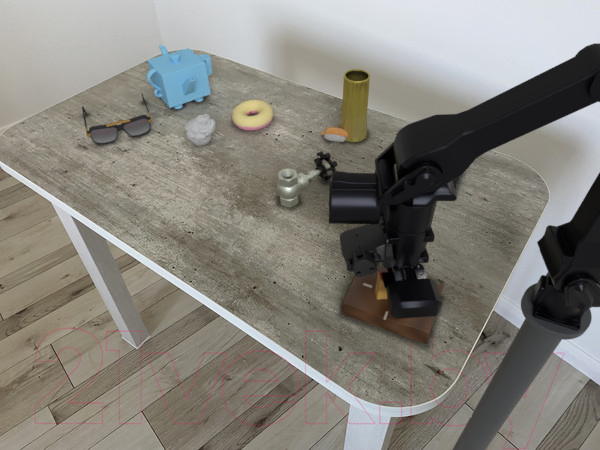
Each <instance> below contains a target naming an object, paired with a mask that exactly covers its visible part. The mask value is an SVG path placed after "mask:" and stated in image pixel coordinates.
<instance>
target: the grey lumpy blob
mask: <svg viewBox="0 0 600 450" xmlns="http://www.w3.org/2000/svg"><path fill="white" fill-rule="evenodd" d="M216 128H217V126H216V120H214V118H211V116H210V115H209V114H208V113H203V114H198V115H196V117H193V118H191V119H189V120H188V121H187V122H186V123H185V124H184V126H183V129H184V130H185V136H186V138H187V139H188V140H190V142H191V143H192V144H193V145H195V146H199V147H204V146H206V145H208V144H209V143H210V142H211V140H212V137H213V133H214V131H215V130H216Z"/></svg>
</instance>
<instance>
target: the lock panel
mask: <svg viewBox="0 0 600 450" xmlns="http://www.w3.org/2000/svg"><path fill="white" fill-rule="evenodd" d="M379 272H387V268H384V267H383V265H382V266H381V265H379V264H378V265H377V271H376V272H375V273H373V274H369V275H366V276H362V277H357V276H356V275H355V277H354V278H353V281H352V282H351V285H350V287H349V289H348V292H347V293H346V296H345V297H344V298H345V299H344V300H343V302H342V313H341V314H342V315H343V316H346V317H349V318H351V319H354V320H357V321H360V322H362V323H365V324H368V325H371V326H374V327H377V328H380V329H383V330H385V331H388V332H390V333H394V334H396V335H400V336H402V337H405V338H406V339H411V340H413V341H416V342H418V343H422V344H424V345H427V343H428V341H429V337H430V333H431V330H432V327H433V323H434V320H435V317H436V316H431V317H416V318H401V319H396V318H394V317H393V316H391V313H390V308H389V304H388V300H387V299H379V300H377V298H376V293H375V288H376V281H377V275H378V273H379ZM436 286H437V289H438V292H439V295H440V298H441V297H442V294H443V290H444V285H441V284H439V283H436Z"/></svg>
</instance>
